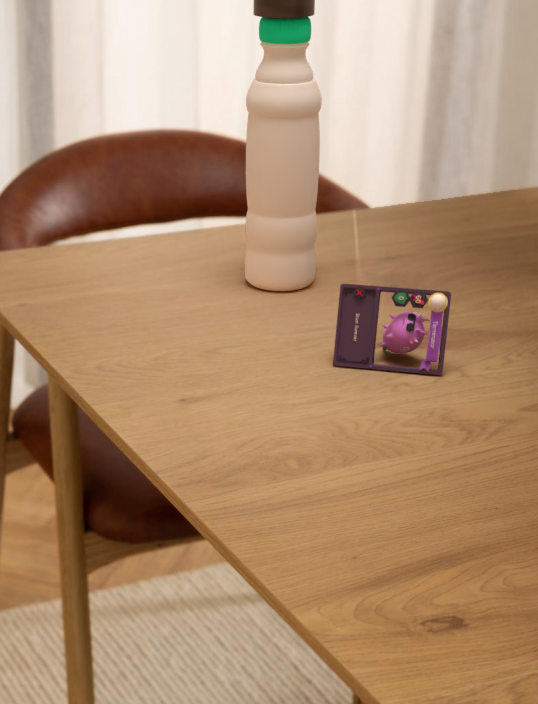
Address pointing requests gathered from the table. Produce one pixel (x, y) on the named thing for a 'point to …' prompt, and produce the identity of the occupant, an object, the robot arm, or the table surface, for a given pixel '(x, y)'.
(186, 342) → the table surface
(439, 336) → the game card
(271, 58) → the water bottle
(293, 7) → the brown wooden puck
